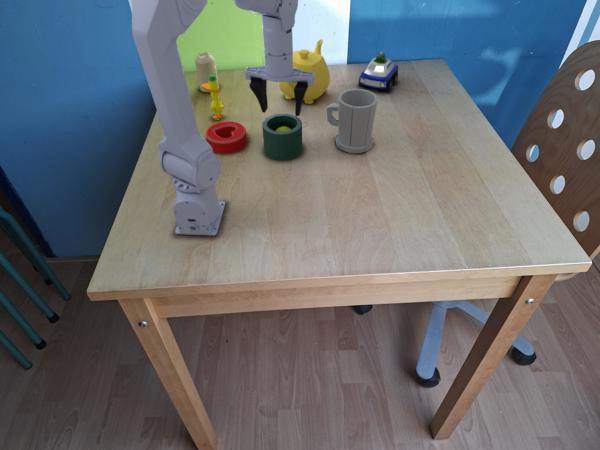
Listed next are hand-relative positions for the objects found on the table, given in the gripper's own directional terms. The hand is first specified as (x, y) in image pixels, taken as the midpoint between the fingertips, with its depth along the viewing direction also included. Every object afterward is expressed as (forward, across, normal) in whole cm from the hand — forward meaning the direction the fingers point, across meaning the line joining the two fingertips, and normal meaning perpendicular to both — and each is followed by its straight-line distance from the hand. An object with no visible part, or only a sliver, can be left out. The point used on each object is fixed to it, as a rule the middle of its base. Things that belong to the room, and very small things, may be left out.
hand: (281, 112), depth 94 cm
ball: (+7, 0, 0) cm, 7 cm away
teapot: (+10, +1, -29) cm, 30 cm away
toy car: (+10, -18, -38) cm, 44 cm away
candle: (+10, +30, -26) cm, 41 cm away
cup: (+10, -15, -6) cm, 19 cm away
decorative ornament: (+10, +14, 0) cm, 17 cm away
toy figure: (+10, +21, -11) cm, 26 cm away
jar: (+10, 0, 0) cm, 10 cm away
